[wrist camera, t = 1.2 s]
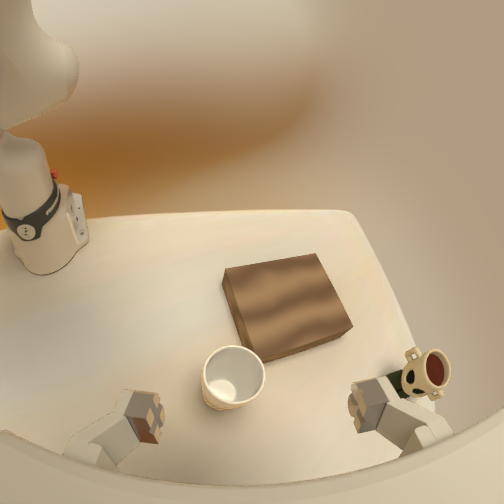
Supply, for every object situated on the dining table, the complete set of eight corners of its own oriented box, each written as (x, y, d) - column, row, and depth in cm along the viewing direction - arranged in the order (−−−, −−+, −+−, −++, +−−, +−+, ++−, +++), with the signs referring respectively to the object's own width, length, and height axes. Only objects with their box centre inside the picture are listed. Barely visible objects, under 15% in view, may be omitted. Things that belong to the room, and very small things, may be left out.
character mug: (366, 376, 44) (411, 352, 34) (389, 358, 47) (433, 331, 37) (392, 420, 39) (442, 406, 29) (413, 400, 42) (461, 381, 32)
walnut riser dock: (221, 284, 51) (225, 268, 47) (306, 267, 57) (315, 253, 53) (250, 367, 42) (257, 358, 38) (340, 337, 48) (353, 326, 45)
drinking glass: (239, 372, 41) (261, 341, 30) (244, 412, 37) (271, 400, 26) (195, 374, 39) (199, 345, 28) (200, 416, 36) (205, 407, 24)
